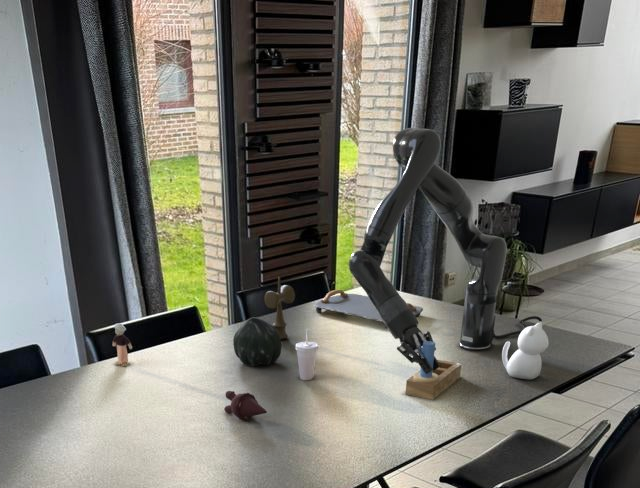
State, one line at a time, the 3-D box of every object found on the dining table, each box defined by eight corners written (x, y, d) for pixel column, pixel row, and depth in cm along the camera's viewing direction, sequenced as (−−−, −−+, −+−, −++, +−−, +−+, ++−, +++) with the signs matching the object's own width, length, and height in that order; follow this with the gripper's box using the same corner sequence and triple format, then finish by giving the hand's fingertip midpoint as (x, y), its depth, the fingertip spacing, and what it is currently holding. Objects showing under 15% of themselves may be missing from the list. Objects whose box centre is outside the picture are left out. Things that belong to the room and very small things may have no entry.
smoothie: (318, 374, 212) (318, 326, 205) (317, 381, 207) (318, 333, 200) (295, 373, 213) (296, 326, 206) (294, 381, 207) (294, 333, 200)
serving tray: (306, 311, 270) (306, 294, 267) (346, 299, 284) (346, 283, 281) (392, 331, 246) (393, 313, 243) (430, 316, 260) (432, 299, 257)
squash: (280, 334, 229) (249, 301, 220) (297, 349, 217) (265, 316, 208) (248, 366, 231) (216, 336, 222) (263, 384, 219) (230, 352, 210)
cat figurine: (534, 385, 200) (544, 331, 193) (491, 375, 208) (499, 323, 200) (547, 376, 206) (557, 323, 198) (505, 367, 213) (513, 315, 206)
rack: (433, 372, 211) (435, 359, 209) (460, 377, 207) (461, 363, 205) (405, 394, 197) (406, 380, 195) (432, 399, 193) (434, 385, 191)
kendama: (295, 336, 244) (295, 275, 234) (278, 343, 238) (277, 281, 228) (281, 333, 248) (280, 272, 237) (263, 340, 241) (262, 278, 231)
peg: (423, 384, 201) (427, 337, 195) (441, 390, 197) (446, 343, 190) (407, 389, 198) (411, 342, 191) (425, 396, 194) (430, 348, 187)
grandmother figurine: (109, 365, 224) (104, 324, 217) (116, 361, 227) (111, 320, 220) (131, 367, 221) (126, 326, 215) (138, 363, 224) (133, 322, 218)
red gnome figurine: (278, 397, 180) (237, 387, 190) (256, 397, 175) (216, 388, 185) (275, 425, 182) (235, 414, 192) (254, 426, 177) (213, 415, 187)
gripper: (392, 314, 187) (429, 369, 186) (421, 302, 196) (457, 355, 195) (373, 330, 193) (409, 385, 192) (402, 319, 202) (437, 370, 200)
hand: (433, 369), depth 193 cm, fingers closed on peg, 3 cm apart
